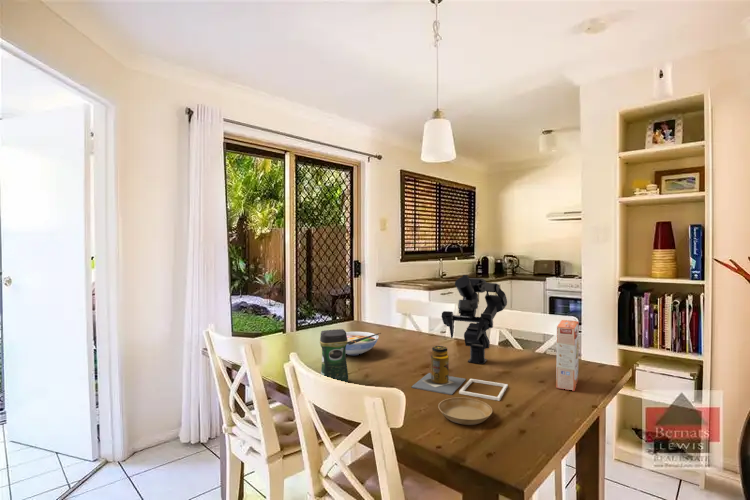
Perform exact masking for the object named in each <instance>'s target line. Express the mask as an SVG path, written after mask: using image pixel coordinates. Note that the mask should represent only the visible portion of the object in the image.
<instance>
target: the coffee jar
mask: <svg viewBox="0 0 750 500" xmlns="http://www.w3.org/2000/svg"><path fill="white" fill-rule="evenodd" d="M346 332H347V331H346V330H345V329H343V328H339V329H338V328H337V329H336V328H335V329H327V330H322V331H321V330H320V338H319V344H320V347H321V364H320V365H321V367H320V375H321V374H322V375H324V376H327V377H331V378H333V379H337V380H341V381H345V382H347V383H348V381H349V372H348V370H349V369H348V364H347V355H346V345H347V335H346Z"/></svg>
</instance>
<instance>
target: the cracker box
mask: <svg viewBox="0 0 750 500" xmlns="http://www.w3.org/2000/svg"><path fill="white" fill-rule="evenodd" d="M579 324H580V323H579V321H577V320H570V319H569V320H567V319H561V321H560V322H559V323H558V325H556V365H555V366H556V373H555V374H556V375H555V377H556V378H555V380H556V381H555V386H556V389H560V390H564V389H565V391H569V390H572V391H571V392H575V391H576V387H577V385H576V384H578V381H579V356H580V355H579V352H580V351H579V347H580V346H579V344H580V343H579V339H580V338H579V336H580V334H579V332H580V331H579V330H580V326H579Z"/></svg>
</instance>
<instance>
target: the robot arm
mask: <svg viewBox="0 0 750 500" xmlns="http://www.w3.org/2000/svg"><path fill="white" fill-rule="evenodd" d="M454 285H455V287H456V289H457V292H458V293H459V295H460V296H461V297H462V299H459V300H458V305H457V307H458V314H459V315H458V314H457V315H456V314H454V312H453V311H449V310H448V311H446V310H443V311H442V312H441V316H440V317H441V320H442V324H443V325H445V326H446V327H448V329H449V335H450V337H451V339H452V338H453V337H454V333H455V332H454V331H455V322H456V321H457V322H466V323H469V324H468V326H467V327H466V329H465V332H464V334H463V338H464V343H465V347H470V349H469V351H470V352H469V355H470V356H469V359H468V360H467V363H472V364H480V365H484V364H485V363H486V362H487V361H488V359H487V358H485V355H486V354H485V353H486V349H490V346H491V345H490V344H491V343H490V339H489V337H488V335H487V330H488V331H489V330H490V329H493V328H494V318H495V317H496V316H497V313H500V312H502V311H504V310H505V308H506V307H507V305H508V298H507V295H506V292H504V291H503V290H502V289H501V287H500V285H499V283H496V282H494V283H493V282H486V280H485V279H484V278H481V277H479V278H478V277H477V278H476V277H469V275H468V274H463V275H462V277H459V278H457V279H456V280H455V282H454ZM478 293H480V294H482V293H486V294H485V296H484V299H485V302H486V307H485V308H484V310H483V312H482V313H480V316H476V313H477V310H478V309H479V294H478ZM489 293H496V294H489Z"/></svg>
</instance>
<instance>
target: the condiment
mask: <svg viewBox="0 0 750 500" xmlns="http://www.w3.org/2000/svg"><path fill="white" fill-rule="evenodd" d="M431 350H432V351H431V355H430V373H431V379H427V380H422V381H423V382H425V383H427V384H429V385H431V386H434V387H439V386H442V385H447V384H451V383H454V382H452V381H449V376H450V375H449V374H450V373H449V370H450V368H449V365H450V363H449V355H448V353H449V352H448V347H446V346H444V345H434V346H433V347H432V348H431Z"/></svg>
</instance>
